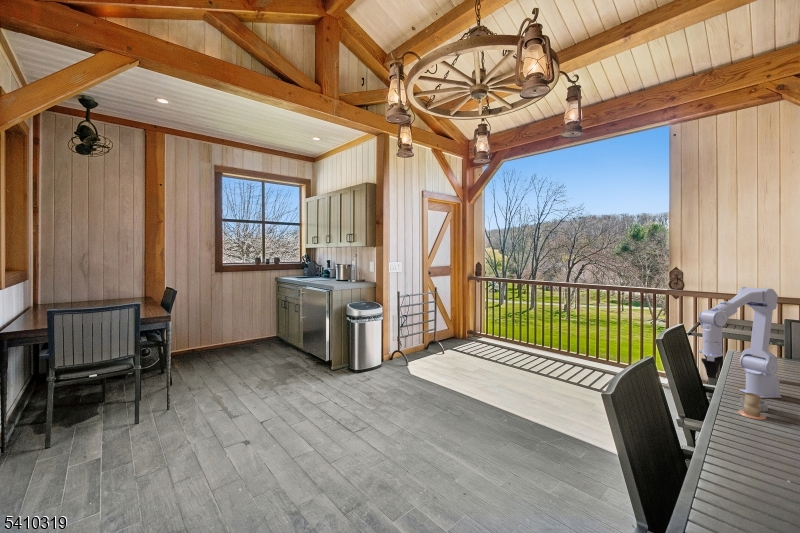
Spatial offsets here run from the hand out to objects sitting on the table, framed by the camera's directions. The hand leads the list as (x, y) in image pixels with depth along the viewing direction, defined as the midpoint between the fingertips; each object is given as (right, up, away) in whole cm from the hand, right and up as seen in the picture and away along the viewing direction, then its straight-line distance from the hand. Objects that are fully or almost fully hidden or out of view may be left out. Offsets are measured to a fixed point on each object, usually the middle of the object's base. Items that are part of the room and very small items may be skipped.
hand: (712, 375), depth 133 cm
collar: (+10, -10, -6) cm, 16 cm away
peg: (+3, -10, -12) cm, 16 cm away
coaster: (+3, -11, -12) cm, 16 cm away
